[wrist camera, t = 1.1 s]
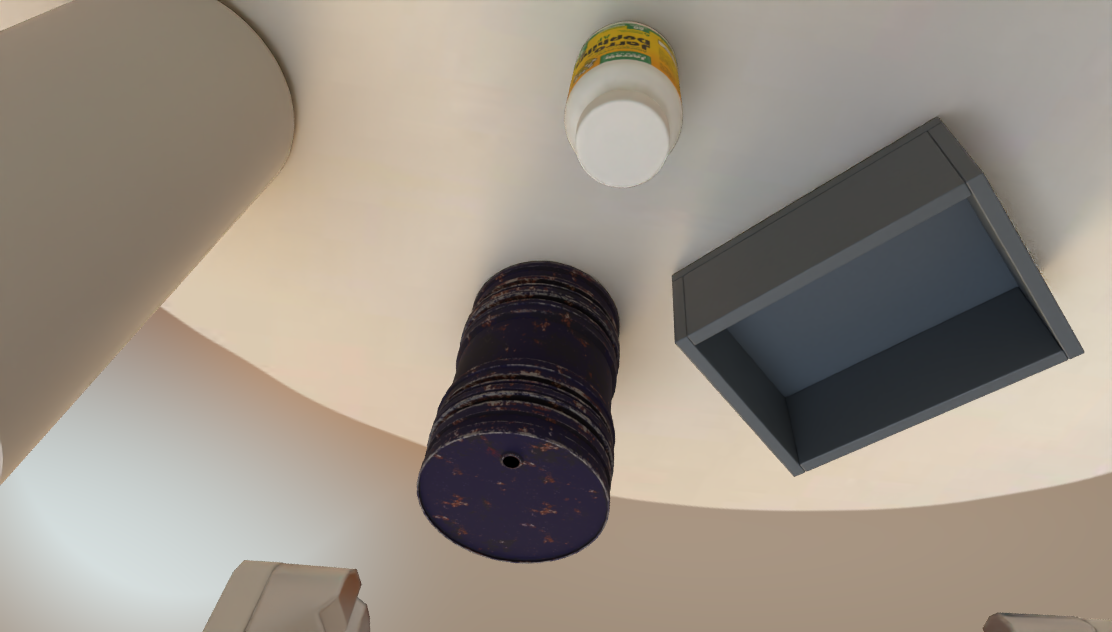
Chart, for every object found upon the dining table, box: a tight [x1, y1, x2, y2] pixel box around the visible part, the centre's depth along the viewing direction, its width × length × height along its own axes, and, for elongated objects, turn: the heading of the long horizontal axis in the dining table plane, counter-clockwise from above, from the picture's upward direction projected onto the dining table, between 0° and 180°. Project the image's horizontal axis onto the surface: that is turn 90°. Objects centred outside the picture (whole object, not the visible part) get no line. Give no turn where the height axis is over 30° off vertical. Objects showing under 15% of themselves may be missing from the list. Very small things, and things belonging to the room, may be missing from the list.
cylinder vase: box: [0, 0, 294, 485], centre depth 33 cm, size 12×12×25 cm
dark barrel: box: [417, 261, 620, 564], centre depth 44 cm, size 10×10×15 cm
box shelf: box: [672, 117, 1084, 477], centre depth 43 cm, size 17×13×7 cm
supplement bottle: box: [564, 21, 683, 188], centre depth 36 cm, size 5×5×10 cm
